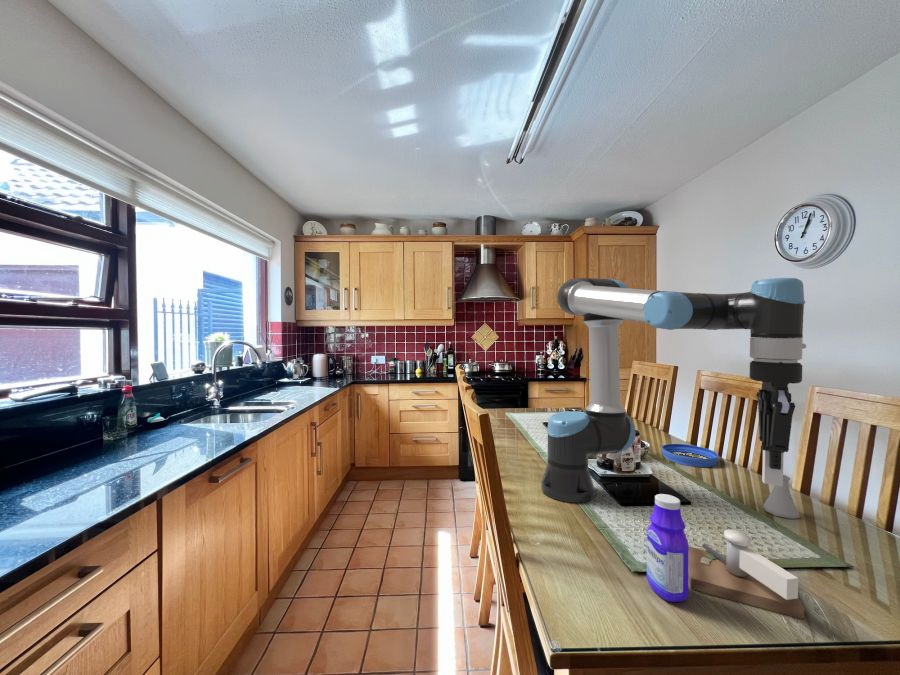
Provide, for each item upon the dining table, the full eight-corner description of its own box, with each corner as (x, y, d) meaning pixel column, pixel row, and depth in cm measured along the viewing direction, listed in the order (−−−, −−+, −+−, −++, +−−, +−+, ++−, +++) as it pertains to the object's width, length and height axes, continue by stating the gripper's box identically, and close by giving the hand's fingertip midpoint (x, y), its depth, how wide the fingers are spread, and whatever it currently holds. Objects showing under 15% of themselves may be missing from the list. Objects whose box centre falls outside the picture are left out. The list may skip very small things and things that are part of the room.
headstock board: (690, 588, 70) (690, 577, 70) (684, 554, 80) (684, 544, 80) (803, 619, 62) (803, 606, 62) (779, 577, 73) (780, 566, 73)
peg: (695, 549, 78) (695, 516, 78) (711, 547, 79) (712, 514, 79) (781, 611, 61) (782, 569, 61) (802, 608, 62) (803, 566, 62)
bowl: (730, 468, 132) (730, 458, 132) (679, 468, 132) (679, 458, 132) (697, 452, 150) (697, 443, 150) (652, 452, 150) (652, 443, 150)
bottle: (640, 579, 72) (641, 490, 72) (667, 577, 73) (669, 489, 73) (664, 606, 65) (666, 508, 65) (695, 604, 66) (696, 507, 65)
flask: (806, 521, 95) (807, 482, 95) (773, 518, 96) (774, 479, 96) (787, 508, 102) (788, 471, 102) (757, 505, 103) (757, 469, 103)
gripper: (816, 364, 63) (812, 501, 64) (788, 359, 75) (785, 475, 75) (759, 362, 66) (756, 492, 67) (742, 357, 78) (739, 468, 79)
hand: (772, 483), depth 71 cm, fingers closed
